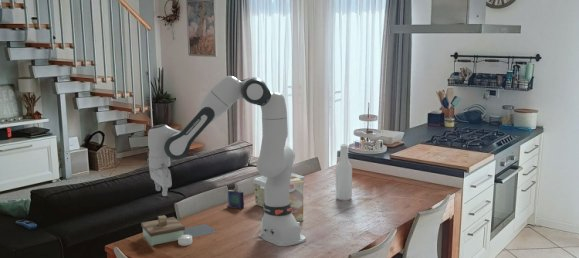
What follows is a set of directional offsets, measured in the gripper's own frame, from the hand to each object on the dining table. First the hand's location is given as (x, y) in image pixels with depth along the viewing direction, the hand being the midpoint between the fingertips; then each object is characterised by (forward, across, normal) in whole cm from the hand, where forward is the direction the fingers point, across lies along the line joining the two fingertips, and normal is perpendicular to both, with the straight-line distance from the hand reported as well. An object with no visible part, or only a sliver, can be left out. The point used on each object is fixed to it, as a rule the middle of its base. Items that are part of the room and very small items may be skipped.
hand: (161, 193), depth 227 cm
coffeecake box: (+21, -7, -59) cm, 63 cm away
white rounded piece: (+21, -12, -6) cm, 25 cm away
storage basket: (+21, +18, -68) cm, 73 cm away
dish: (+21, 0, 0) cm, 21 cm away
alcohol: (+21, +7, -103) cm, 105 cm away
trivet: (+21, -1, -16) cm, 26 cm away
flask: (+21, +24, -46) cm, 56 cm away
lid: (+16, 0, 0) cm, 16 cm away
